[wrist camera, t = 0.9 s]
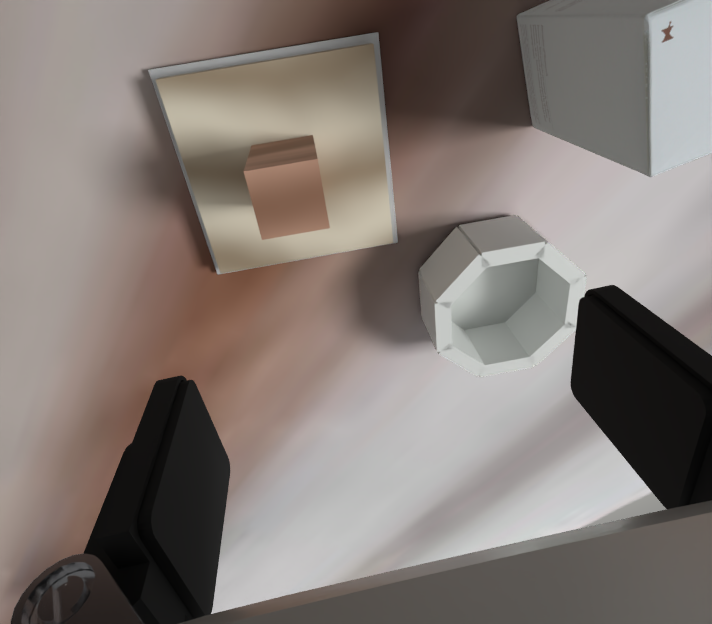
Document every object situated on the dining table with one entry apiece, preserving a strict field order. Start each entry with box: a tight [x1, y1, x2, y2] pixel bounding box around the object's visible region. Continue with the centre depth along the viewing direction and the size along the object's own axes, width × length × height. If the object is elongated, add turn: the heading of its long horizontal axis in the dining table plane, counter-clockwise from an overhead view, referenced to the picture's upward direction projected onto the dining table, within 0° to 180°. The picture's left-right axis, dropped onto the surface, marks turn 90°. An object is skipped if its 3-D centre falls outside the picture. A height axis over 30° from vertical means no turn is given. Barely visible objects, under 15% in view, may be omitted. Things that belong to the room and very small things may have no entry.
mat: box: [148, 32, 398, 274], centre depth 32 cm, size 14×14×1 cm
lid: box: [156, 43, 393, 273], centre depth 29 cm, size 13×13×7 cm
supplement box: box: [517, 0, 712, 177], centre depth 25 cm, size 7×7×13 cm
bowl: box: [418, 215, 587, 377], centre depth 37 cm, size 11×11×6 cm
